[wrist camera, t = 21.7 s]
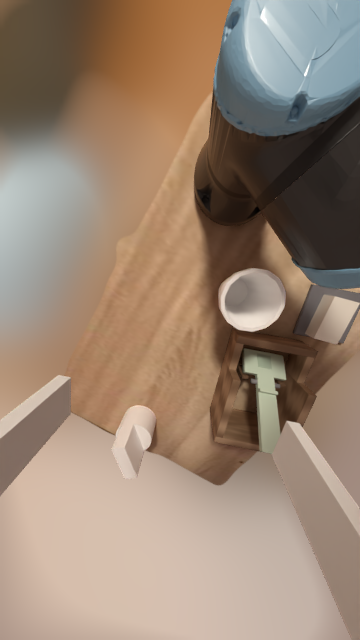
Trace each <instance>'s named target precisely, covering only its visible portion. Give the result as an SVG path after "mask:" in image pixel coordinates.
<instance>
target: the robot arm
mask: <svg viewBox="0 0 360 640" xmlns="http://www.w3.org/2000/svg"><path fill="white" fill-rule="evenodd" d="M331 149H332V150H331ZM323 156H324V157H323ZM316 162H317V163H316ZM315 163H316V164H315ZM308 169H309V170H308ZM307 170H308V171H307ZM300 176H301V177H300ZM299 177H300V178H299ZM292 183H293V184H292ZM291 184H292V185H291ZM194 190H195V195H196V199H197V202H198V204H199V206H200V208H201V209H202V211H203V212H204V213H205V215H206V216H207V217H209V218H210V219H211V220H213V221H214V222H216V223H219V224H222V225H227V226H235V225H240V224H244V223H246V222H248V221H250V220H252V219H253V218H255V217H256V216H257V215H259V214H260V213H262V214H263V216H264V217H265V219H266V220H267V222H268V223H269V225H270V226H271V227H272V229H273V230H274V232H275V233H276V235H277V236H278V238H279V239H280V241H281V242H282V244H283V245H284V246H285V248H286V249H287V251H288V252H289V254H290V255H291V257H292V261H293V263H294V264H295V265H296V266H297V267H299V268H300V269H301V270H302V272H303V273H304V274H305V275H306V277H307V278H308V279H309V280H310V281H311V282H313V283H315V284H317V285H319V286H322V287H325V288H332V289H351V288H360V0H232V3H231V6H230V8H229V12H228V15H227V18H226V22H225V26H224V31H223V36H222V42H221V48H220V53H219V56H218V59H217V63H216V67H215V76H214V88H213V98H212V108H211V118H210V129H209V138H208V140H207V141H206V143H205V144H204V146H203V148H202V150H201V152H200V154H199V156H198V159H197V163H196V167H195V174H194ZM284 190H285V191H284ZM283 191H284V192H283ZM276 197H277V198H276ZM275 198H276V199H275ZM269 203H270V204H269ZM268 204H269V205H268ZM70 408H71V377H66V376H61V375H58V376H57V377H55V378H54V379H53V380H52V381H50V382H49V383H48V384H46V385H45V386H44V387H43V388H41V389H40V390H38V391H37V392H36V393H35V394H33V395H32V396H31V397H29V398H28V399H27V400H25V401H24V402H23V403H22V404H20V405H19V406H18V407H16V408H15V409H14V410H12V411H11V412H10V413H9V414H7V415H6V416H5V417H3V418H2V419H1V420H0V495H1V494H2V493H3V492H4V491H5V490H6V489H7V487H8V486H9V485H10V484H11V483H12V482H13V480H14V479H15V478H16V477H17V476H18V475H19V473H20V472H21V471H22V470H23V469H24V468H25V466H26V465H27V464H28V463H29V462H30V461H31V459H32V458H33V457H34V456H35V455H36V454H37V452H38V451H39V450H40V449H41V448H42V447H43V445H44V444H45V443H46V442H47V441H48V440H49V438H50V437H51V436H52V435H53V434H54V433H55V431H56V430H57V429H58V428H59V427H60V425H61V424H62V423H63V422H64V421H65V420H66V419H67V417H68V416H69V415H70ZM272 457H273V459H274V461H275V464H276V466H277V469H278V471H279V473H280V476H281V478H282V480H283V482H284V485H285V487H286V489H287V492H288V494H289V496H290V499H291V501H292V503H293V506H294V508H295V510H296V512H297V515H298V517H299V519H300V522H301V524H302V526H303V528H304V531H305V533H306V535H307V538H308V540H309V542H310V545H311V547H312V549H313V552H314V554H315V556H316V559H317V561H318V563H319V565H320V568H321V570H322V572H323V575H324V577H325V579H326V582H327V584H328V586H329V589H330V591H331V593H332V596H333V598H334V600H335V602H336V605H337V607H338V609H339V612H340V614H341V616H342V619H343V621H344V623H345V625H346V628H347V630H348V632H349V635H350V637H351V639H352V640H360V508H359V507H358V505H357V504H356V503H355V501H354V500H353V498H352V497H351V495H350V494H349V493H348V491H347V490H346V489H345V487H344V486H343V484H342V483H341V481H340V480H339V479H338V477H337V476H336V474H335V473H334V472H333V470H332V469H331V467H330V466H329V464H328V463H327V462H326V460H325V459H324V457H323V456H322V455H321V453H320V452H319V450H318V449H317V447H316V446H315V445H314V443H313V442H312V440H311V439H310V438H309V436H308V435H307V433H306V432H305V431H304V429H303V428H302V426H301V425H300V423H296V422H291V421H286V423H285V425H284V428H283V430H282V432H281V435H280V437H279V439H278V442H277V444H276V446H275V449H274V451H273V453H272Z"/></svg>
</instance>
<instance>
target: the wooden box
mask: <svg viewBox="0 0 360 640" xmlns="http://www.w3.org/2000/svg"><path fill="white" fill-rule="evenodd" d="M244 344H245V345H250V346H255V347H260V348H265V349H270V350H275V351H280V352H286V353H290V354H289V356H288V359H287V361H286V364H285V373H286V380H285V381H281V380H276V379H274V380H275V382H276V383H277V384H280V389H279V388H276V390H275V391H278V395H276V400H277V408H278V417H279V426H280V434H281V432H282V430H283V428H284V425H285V423H286V421H291V422H296V423H300V425H301V426H302V427H303V425H304V423H305V420H306V418H307V416H308V414H309V412H310V410H311V408H312V406H313V404H314V401H315V399H316V395H315V394H314V393H313V392H312V391H311V390H310V389H309V388H308V387H307V386H306V385H305V384H304V382H305V380H306V378H307V375H308V373H309V371H310V368H311V366H312V364H313V362H314V359H315V357H316V355H317V352H318V351H316V350H315V349H313V348H311V347H310V346H308V345H307V344H305V343H304V342H302V341H298V340H293V339H288V338H283V337H278V336H272V335H267V334H262V333H257V332H250V331H243V330H238V329H236V328H232V331H231V335H230V338H229V342H228V346H227V349H226V353H225V356H224V360H223V364H222V367H221V371H220V374H219V378H218V382H217V385H216V389H215V392H214V396H213V400H212V403H211V407H210V413H211V421H212V429H213V436H214V442H216V443H221V444H226V445H231V446H236V447H241V448H246V449H251V450H256V451H260V450H259V433H258V416H257V413H252V412H247V411H242V410H237V409H232V408H233V405H234V402H235V398H236V395H237V392H238V389H239V386H240V383H241V380H240V378H239V376H238V374H237V371H236V368H237V369H238V371H239V374H240V376H241V378H243V379H248V378H249V376H248V375H247V374H245V373H243V365H241V364H238V362H239V358H240V355H241V352H242V349H243V345H244Z"/></svg>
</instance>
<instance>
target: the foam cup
mask: <svg viewBox="0 0 360 640" xmlns="http://www.w3.org/2000/svg"><path fill="white" fill-rule="evenodd" d="M218 291H219V294H218V299H219V309H220V311H221V313H222V314H223V316H224V318H225V320H226V321H227V322H228V323H229V324H231V325H232V326H234V327H235V328H237V329H238V330H243V331H250V332H253V331H257V330H261V329H264V328H267V327H268V326H269V325H271V324H272V323H273V322H275V321H276V320H277V319H278V318H279V316H280V314H281V312H282V311H283V309H284V307H285V298H286V291H285V289H284V286H283V284H282V282H281V280H280V278H278V277H277V276H276V275H274V274H273V273H272V272H270V271H269V270H264V269H257V268H248V269H245V270H241V271H238V272H235V273H234V274H232V275H231V276H230V277H229V278H227V279H226V280H225V281H223V282H222V283H221V285H220V287H219V290H218Z"/></svg>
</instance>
